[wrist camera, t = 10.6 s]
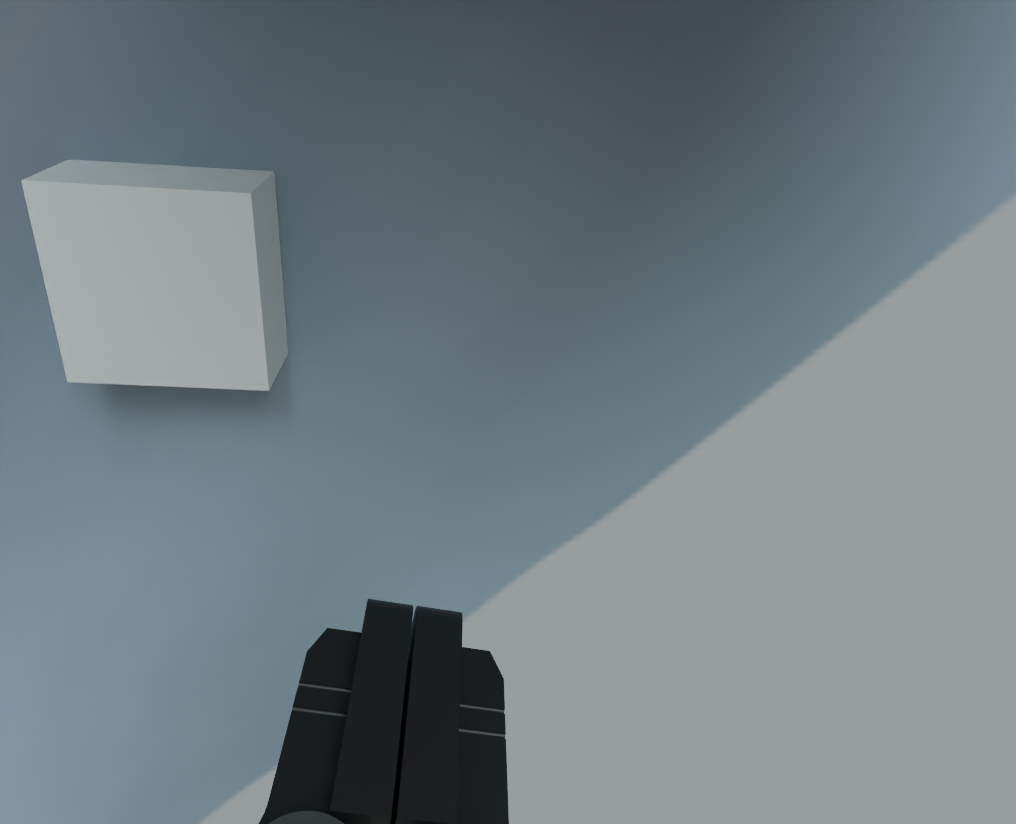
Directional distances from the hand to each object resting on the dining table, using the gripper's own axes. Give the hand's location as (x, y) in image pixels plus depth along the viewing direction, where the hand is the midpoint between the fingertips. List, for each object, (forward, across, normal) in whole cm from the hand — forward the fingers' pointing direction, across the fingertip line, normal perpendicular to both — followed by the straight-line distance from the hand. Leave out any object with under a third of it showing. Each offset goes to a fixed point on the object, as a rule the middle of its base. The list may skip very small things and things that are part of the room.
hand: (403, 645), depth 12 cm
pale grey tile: (+15, +8, 0) cm, 17 cm away
